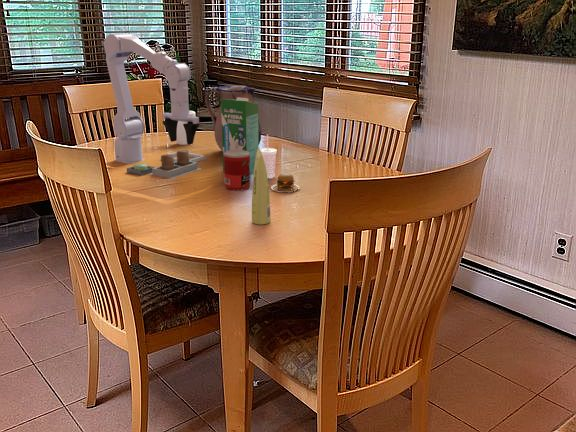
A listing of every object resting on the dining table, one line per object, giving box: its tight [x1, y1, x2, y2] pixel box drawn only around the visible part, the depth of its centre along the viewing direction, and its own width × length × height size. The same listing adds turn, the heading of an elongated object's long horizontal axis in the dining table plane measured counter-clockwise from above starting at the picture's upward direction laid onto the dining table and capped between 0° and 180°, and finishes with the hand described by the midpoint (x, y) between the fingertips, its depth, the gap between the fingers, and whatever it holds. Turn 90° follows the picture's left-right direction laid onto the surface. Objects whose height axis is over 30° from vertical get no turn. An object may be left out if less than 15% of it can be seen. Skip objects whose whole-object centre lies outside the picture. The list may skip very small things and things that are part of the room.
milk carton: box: [220, 97, 260, 175], centre depth 192 cm, size 9×9×25 cm
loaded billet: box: [160, 153, 175, 171], centre depth 189 cm, size 4×4×6 cm
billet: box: [176, 149, 190, 166], centre depth 195 cm, size 4×4×6 cm
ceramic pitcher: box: [204, 85, 262, 152], centre depth 217 cm, size 18×21×25 cm
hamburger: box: [270, 172, 300, 193], centre depth 178 cm, size 12×12×6 cm
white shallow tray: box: [170, 151, 207, 163], centre depth 208 cm, size 13×10×2 cm
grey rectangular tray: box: [149, 161, 202, 180], centre depth 193 cm, size 10×15×3 cm, turn 147°
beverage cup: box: [260, 134, 278, 179], centre depth 189 cm, size 6×6×14 cm
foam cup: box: [175, 110, 197, 146], centre depth 233 cm, size 10×9×13 cm
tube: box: [251, 146, 271, 226], centre depth 148 cm, size 6×5×20 cm
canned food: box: [223, 150, 251, 191], centre depth 178 cm, size 8×8×11 cm
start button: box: [133, 163, 149, 171], centre depth 191 cm, size 4×4×3 cm
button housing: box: [126, 165, 156, 176], centre depth 192 cm, size 6×6×2 cm
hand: (181, 142), depth 194 cm, fingers open, 7 cm apart
